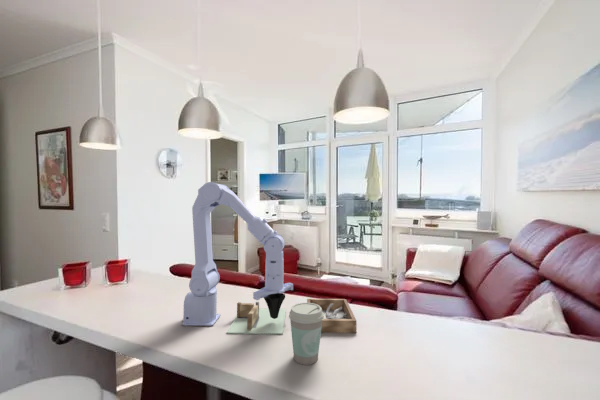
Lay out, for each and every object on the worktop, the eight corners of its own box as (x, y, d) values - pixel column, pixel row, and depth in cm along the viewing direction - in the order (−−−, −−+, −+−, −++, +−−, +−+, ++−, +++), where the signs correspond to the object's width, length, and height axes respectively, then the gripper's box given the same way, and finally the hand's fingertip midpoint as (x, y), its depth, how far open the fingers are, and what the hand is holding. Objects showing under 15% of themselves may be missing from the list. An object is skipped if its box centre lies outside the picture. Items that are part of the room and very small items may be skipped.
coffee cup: (296, 372, 59) (297, 317, 60) (283, 352, 67) (284, 304, 67) (330, 363, 63) (330, 311, 63) (313, 345, 71) (314, 300, 71)
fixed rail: (236, 317, 86) (236, 302, 86) (237, 316, 88) (237, 301, 88) (258, 318, 86) (258, 303, 86) (259, 316, 88) (259, 301, 88)
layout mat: (226, 333, 77) (226, 332, 77) (240, 309, 95) (240, 308, 95) (282, 334, 76) (282, 332, 76) (286, 309, 94) (286, 308, 94)
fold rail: (254, 317, 86) (254, 304, 86) (258, 318, 86) (258, 304, 86) (246, 329, 78) (246, 314, 78) (251, 329, 78) (251, 315, 78)
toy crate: (308, 332, 78) (308, 320, 78) (307, 308, 96) (307, 298, 96) (356, 332, 78) (356, 320, 78) (345, 308, 96) (346, 299, 96)
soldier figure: (353, 322, 87) (344, 325, 77) (341, 331, 88) (331, 335, 77) (338, 301, 91) (328, 301, 81) (327, 310, 92) (316, 311, 81)
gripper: (263, 280, 76) (263, 329, 75) (299, 272, 86) (299, 314, 86) (249, 276, 81) (248, 321, 80) (285, 268, 91) (284, 308, 91)
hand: (274, 317), depth 83 cm, fingers closed
